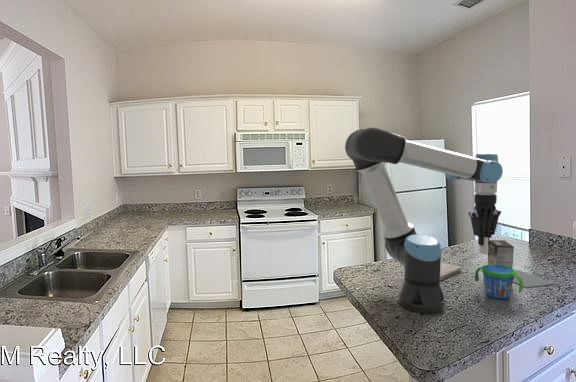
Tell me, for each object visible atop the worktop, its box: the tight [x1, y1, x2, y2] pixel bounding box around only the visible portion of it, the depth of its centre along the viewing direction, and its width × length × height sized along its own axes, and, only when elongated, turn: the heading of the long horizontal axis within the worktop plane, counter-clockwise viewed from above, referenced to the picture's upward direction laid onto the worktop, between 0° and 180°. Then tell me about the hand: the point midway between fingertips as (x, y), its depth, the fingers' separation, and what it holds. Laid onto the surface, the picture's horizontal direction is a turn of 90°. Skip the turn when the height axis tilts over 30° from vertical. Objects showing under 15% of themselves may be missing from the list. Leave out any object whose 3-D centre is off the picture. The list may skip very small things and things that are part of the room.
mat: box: [513, 270, 555, 289], centre depth 145 cm, size 13×16×1 cm
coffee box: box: [487, 239, 515, 269], centre depth 141 cm, size 9×6×16 cm
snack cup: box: [474, 264, 524, 300], centre depth 129 cm, size 16×10×10 cm
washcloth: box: [440, 261, 463, 281], centre depth 155 cm, size 12×18×3 cm, turn 128°
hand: (483, 253), depth 139 cm, fingers closed
